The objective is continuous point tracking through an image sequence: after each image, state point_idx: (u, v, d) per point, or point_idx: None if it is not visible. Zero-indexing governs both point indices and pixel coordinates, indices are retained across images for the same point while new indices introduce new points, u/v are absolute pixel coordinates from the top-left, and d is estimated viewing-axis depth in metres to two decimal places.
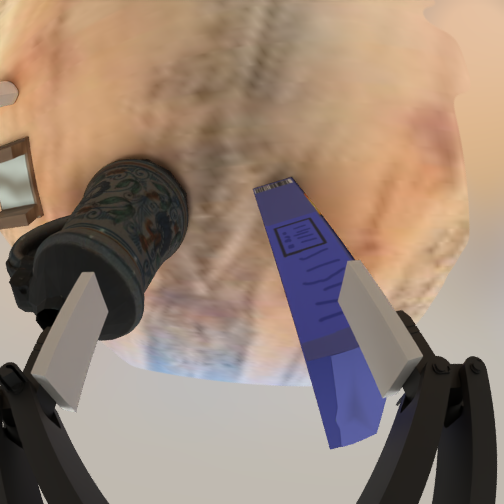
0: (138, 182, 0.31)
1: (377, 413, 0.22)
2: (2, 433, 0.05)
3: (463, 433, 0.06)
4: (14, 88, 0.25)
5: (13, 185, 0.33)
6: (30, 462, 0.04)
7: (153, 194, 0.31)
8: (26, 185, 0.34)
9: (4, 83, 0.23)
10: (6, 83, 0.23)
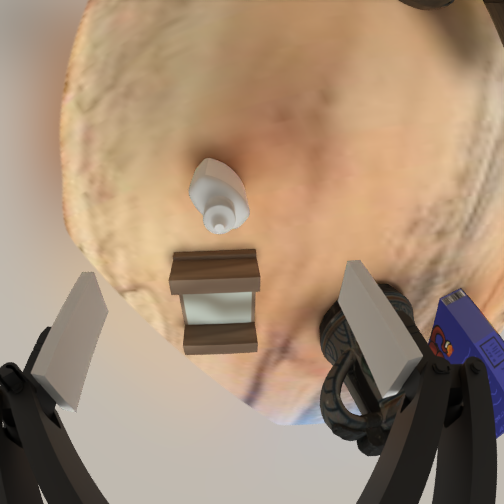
0: None
1: None
2: (2, 433, 0.05)
3: (463, 433, 0.06)
4: (240, 180, 0.29)
5: (220, 303, 0.37)
6: (30, 462, 0.04)
7: None
8: (245, 305, 0.38)
9: (228, 170, 0.27)
10: (229, 169, 0.27)
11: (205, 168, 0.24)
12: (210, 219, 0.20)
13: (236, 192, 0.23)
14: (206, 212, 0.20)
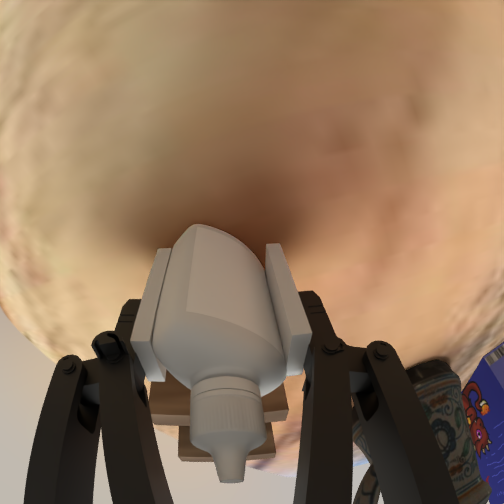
0: (460, 408, 0.21)
1: None
2: (74, 417, 0.06)
3: (387, 427, 0.07)
4: (259, 265, 0.16)
5: None
6: (104, 438, 0.06)
7: (464, 410, 0.22)
8: None
9: (237, 256, 0.14)
10: (238, 253, 0.14)
11: (187, 275, 0.11)
12: (207, 449, 0.07)
13: (262, 347, 0.10)
14: (196, 437, 0.07)
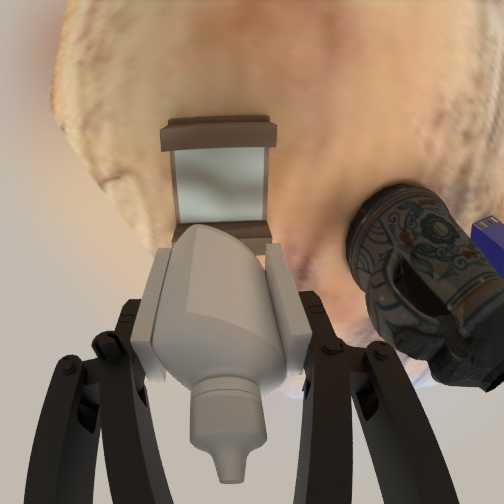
0: (453, 219, 0.26)
1: None
2: (75, 417, 0.07)
3: (387, 427, 0.07)
4: (259, 265, 0.16)
5: (223, 187, 0.29)
6: (104, 438, 0.06)
7: None
8: (255, 191, 0.29)
9: (237, 257, 0.14)
10: (238, 253, 0.14)
11: (187, 276, 0.11)
12: (207, 449, 0.07)
13: (262, 348, 0.10)
14: (196, 437, 0.07)
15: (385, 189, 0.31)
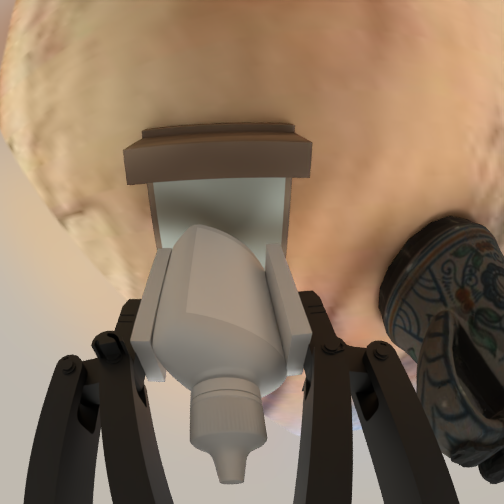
0: None
1: None
2: (75, 417, 0.06)
3: (387, 427, 0.07)
4: (259, 265, 0.16)
5: (225, 228, 0.20)
6: (104, 438, 0.06)
7: None
8: (270, 234, 0.21)
9: (237, 257, 0.14)
10: (238, 253, 0.14)
11: (187, 276, 0.11)
12: (207, 450, 0.07)
13: (262, 348, 0.10)
14: (196, 438, 0.07)
15: (433, 224, 0.23)
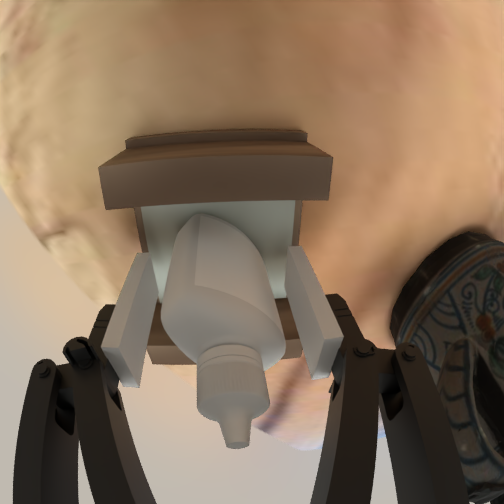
0: None
1: None
2: (52, 419, 0.06)
3: (409, 426, 0.07)
4: (258, 253, 0.17)
5: None
6: (81, 442, 0.05)
7: None
8: (277, 259, 0.18)
9: (237, 242, 0.15)
10: (239, 240, 0.15)
11: (194, 256, 0.12)
12: (214, 414, 0.08)
13: (263, 320, 0.11)
14: (204, 401, 0.08)
15: (452, 242, 0.20)
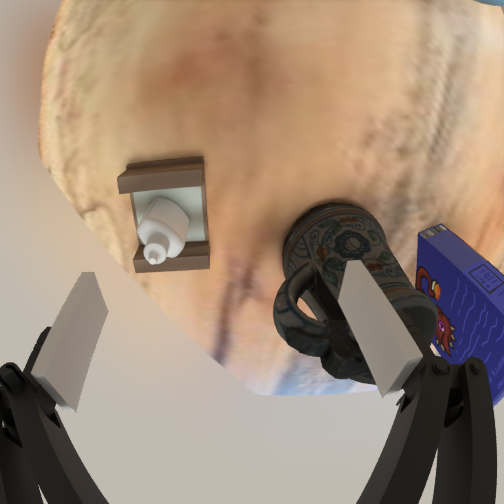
0: (376, 233, 0.34)
1: None
2: (2, 433, 0.05)
3: (463, 433, 0.06)
4: (184, 214, 0.35)
5: None
6: (30, 462, 0.04)
7: (387, 244, 0.35)
8: (196, 218, 0.37)
9: (172, 208, 0.33)
10: (173, 207, 0.34)
11: (151, 209, 0.30)
12: (147, 253, 0.26)
13: (171, 230, 0.29)
14: (145, 248, 0.26)
15: (314, 209, 0.39)
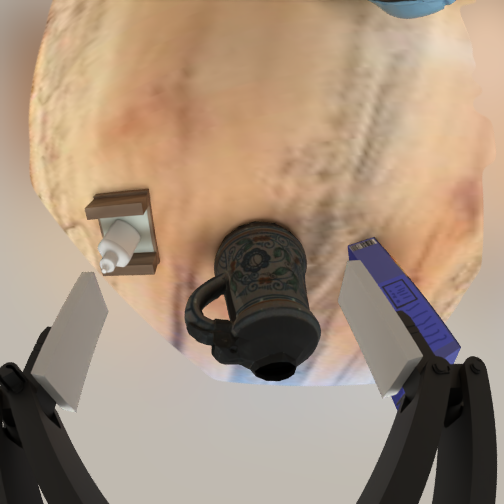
0: (285, 250, 0.43)
1: None
2: (2, 433, 0.05)
3: (463, 433, 0.06)
4: (136, 233, 0.45)
5: None
6: (30, 462, 0.04)
7: (296, 259, 0.44)
8: (146, 235, 0.46)
9: (125, 229, 0.43)
10: (127, 228, 0.43)
11: (108, 232, 0.40)
12: (102, 265, 0.36)
13: (120, 248, 0.39)
14: (100, 262, 0.36)
15: (239, 227, 0.48)
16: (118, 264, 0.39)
